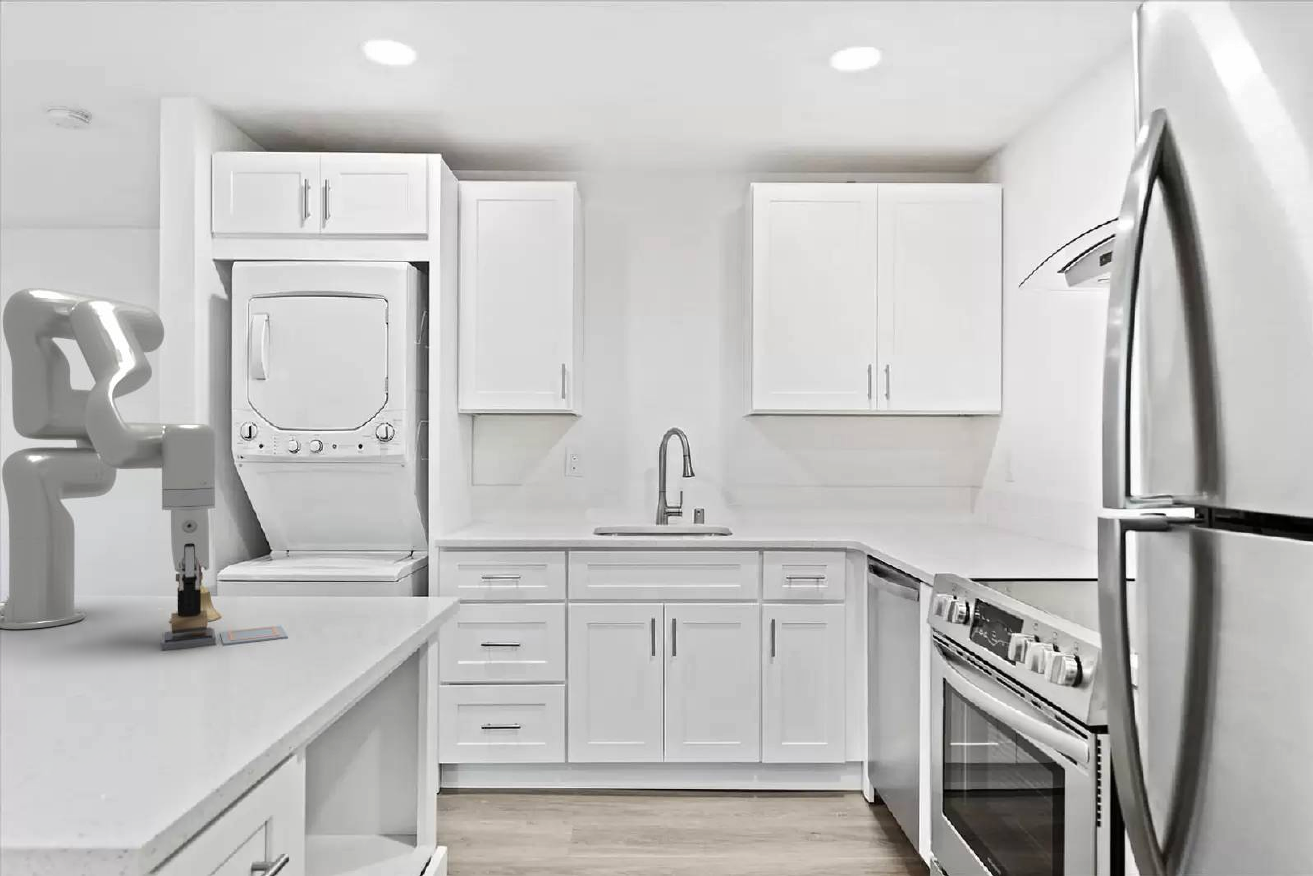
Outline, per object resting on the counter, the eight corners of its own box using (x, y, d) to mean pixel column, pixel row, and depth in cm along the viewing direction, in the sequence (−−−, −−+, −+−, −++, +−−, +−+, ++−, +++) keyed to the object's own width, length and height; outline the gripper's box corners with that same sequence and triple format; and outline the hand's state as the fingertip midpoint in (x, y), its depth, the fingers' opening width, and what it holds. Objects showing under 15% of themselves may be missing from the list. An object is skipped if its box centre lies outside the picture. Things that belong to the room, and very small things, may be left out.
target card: (223, 645, 132) (223, 642, 132) (220, 633, 140) (220, 631, 140) (287, 638, 137) (287, 635, 137) (280, 627, 145) (280, 624, 145)
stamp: (171, 634, 130) (171, 577, 130) (171, 628, 135) (171, 573, 135) (207, 630, 133) (207, 574, 133) (206, 624, 137) (206, 570, 137)
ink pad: (161, 650, 129) (161, 641, 129) (161, 640, 135) (161, 631, 135) (215, 644, 132) (215, 635, 132) (213, 635, 139) (213, 626, 139)
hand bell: (230, 615, 155) (230, 530, 156) (202, 625, 147) (202, 535, 147) (189, 614, 156) (189, 530, 156) (158, 624, 148) (159, 535, 148)
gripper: (217, 501, 129) (217, 619, 129) (212, 496, 143) (213, 602, 143) (161, 503, 125) (161, 625, 125) (162, 498, 139) (162, 607, 139)
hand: (189, 612), depth 134 cm, fingers closed on stamp, 3 cm apart
